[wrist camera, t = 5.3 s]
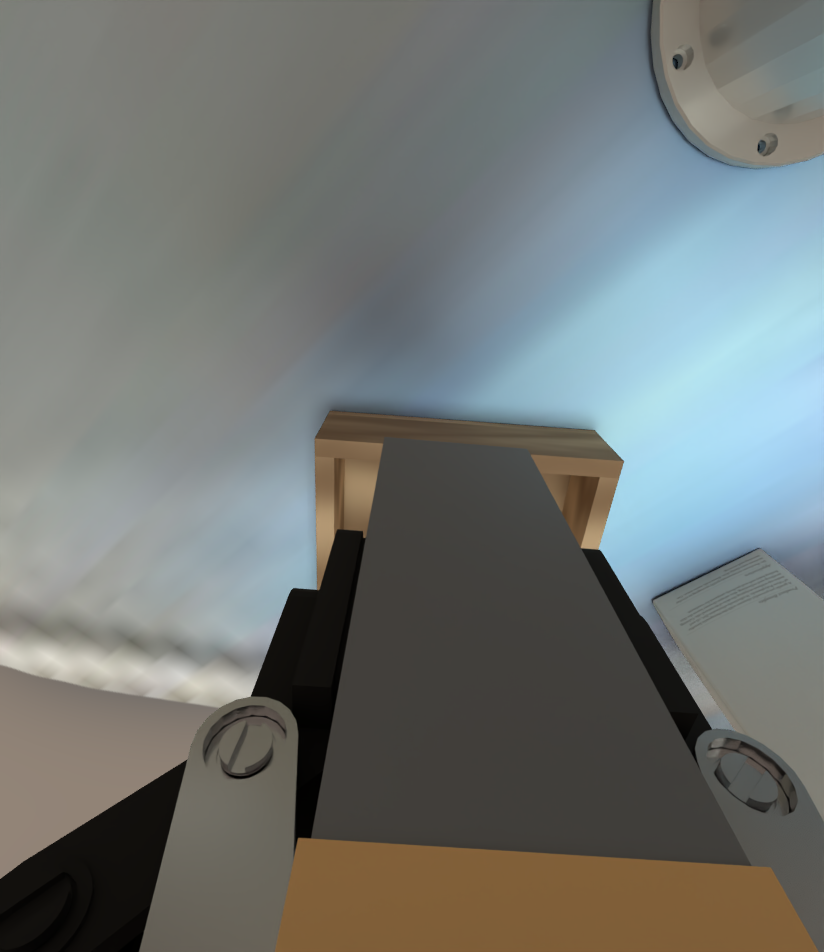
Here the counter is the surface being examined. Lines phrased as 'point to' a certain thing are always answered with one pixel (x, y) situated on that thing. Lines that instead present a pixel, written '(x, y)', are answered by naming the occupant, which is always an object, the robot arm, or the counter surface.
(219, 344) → the counter surface
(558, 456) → the crate
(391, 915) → the square peg
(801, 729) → the skincare box
